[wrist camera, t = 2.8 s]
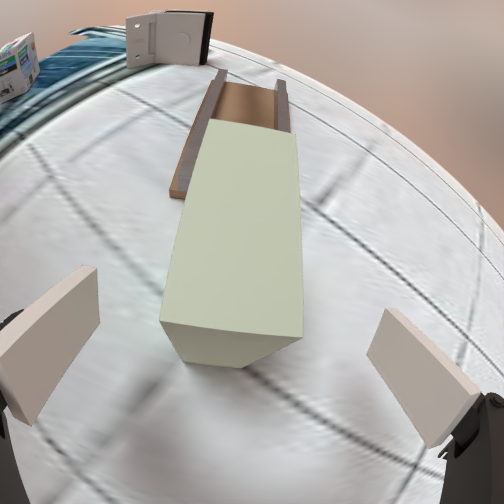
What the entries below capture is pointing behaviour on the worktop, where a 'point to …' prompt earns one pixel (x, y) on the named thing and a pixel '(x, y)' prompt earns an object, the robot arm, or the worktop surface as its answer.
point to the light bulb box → (18, 67)
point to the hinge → (169, 37)
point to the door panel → (237, 250)
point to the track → (230, 119)
